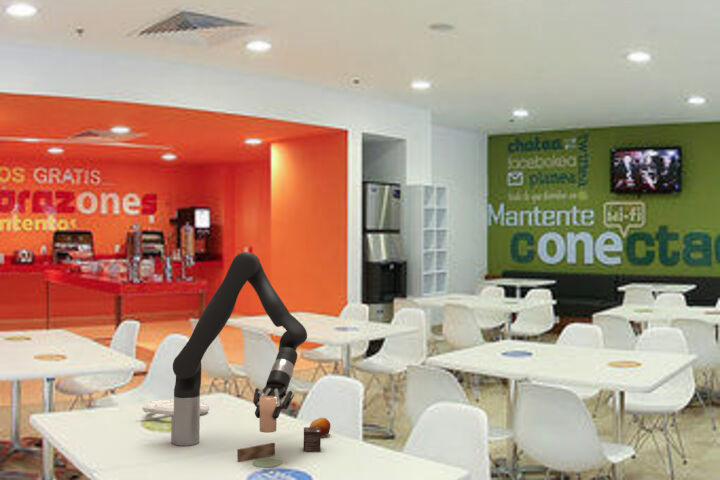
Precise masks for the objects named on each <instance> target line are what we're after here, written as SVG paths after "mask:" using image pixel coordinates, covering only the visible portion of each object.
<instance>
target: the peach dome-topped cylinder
mask: <svg viewBox="0 0 720 480" xmlns="http://www.w3.org/2000/svg"><path fill="white" fill-rule="evenodd" d="M275 407H277V405H276V397H275V396H263V395H262V396H260V418H259V432H260V433H267V434H268V433H274V432H276V431H277V419H276V420H274V419H273V417H272V416H273V413H274V410H275Z"/></svg>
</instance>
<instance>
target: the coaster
mask: <svg viewBox="0 0 720 480" xmlns="http://www.w3.org/2000/svg"><path fill="white" fill-rule="evenodd" d="M251 463H252V464H251V465H253V467H257V468H263V469H264V468H267V469H268V468H276V467H279V466H282V465H283V460H282V459H280V458H277V457H271V456H267V457H261V458H256V459H253V460H252V462H251Z"/></svg>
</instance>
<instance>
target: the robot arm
mask: <svg viewBox="0 0 720 480" xmlns="http://www.w3.org/2000/svg"><path fill="white" fill-rule="evenodd" d="M225 274H226V275H225V276H224V278H223V280H222V282H221V284H220V285H219V287H218V288H217V290H215V292H214V294H213V295H212V297H211V299H210V300H209V302H208V303H207V305H206V307H205V308H204V310H203V312H202V313H201V315H200V317H199V319H198V321H197V322H196V325H195V327H194V329H193V331H192V334H191V335H190V338H189V339H188V340H187V342H186V344H185V345H184V346H183V348H182V349H181V350H180V352H179V353H178V354H177V355H176V357H174V359H173V363H172V370H173V373H174V375H175V384H174V389H173V398H174V415H172V416H171V418H170V419H171V421H170V422H171V424H170V425H171V427H170V428H171V429H170V437H171V438H170V441H171V442H170V443H171V444H173V445H175V446H180V447H181V446H182V447H184V446H186V447H187V446H194V445H197V444H199V443H200V428H201V427H200V426H201V425H200V424H201V422H200V421H201V419H200V417H201V416H200V415H201V413H200V403H201V402H200V401H201V397H200V396H201V385H202V360H203V358H204V356H205V354H206V352H207V350H208V349H209V347H210V345H212V343H213V342H214V341H215V340H216V338H218V336H219V334H220V333H221V332H222V330H223V329H224V327H225V326H226V324H227V323H228V321H229V319H230V318H231V316H232V315H233V312H234V309H235V306H236V303H237V301H238V296H239V295H240V293H241V290H242V289H243V287H244V286H245V284H246V283H249V284H250V285H251V286H252V288H253V290H254V291H255V293H256V295H257V296H258V299H259V301H260V303H261V305H262V307H263V309H264V311H265V313H266V314H267V316H268V318H269V319H270V321H271V322H272V324H273V325H274V327H276V328H280V327H282V328H283V329H285V330H286V331H285V332H284V333H282V335H281V336H280V340H279V345H278V352H277V356H276V358H275V360H274V363H273V364H272V366H271V369H270V371H269V374H268V377H267V380H266V384H265V386H264V387H263V389H262V388H261V389H259V388H258V387H256V388H255V389H254V395H253V401H252V402H253V405H254V406H255V407H256V408H255V411H254V415H255V417H256V418H257V419H260V397H262V396H275V397H276V407H275V410H274V413H273V416H272V417H273V419H274V420H276V421H277V419H278V418H279V417H280V413H281V411H282V410H287V409H288V408H289V406H290V404H291V403H292V401H293V398H294V397H295V396H294V393H293V391H292V390H289V391H288V388H289V386H290V383H291V379H292V377H293V373H294V369H295V366H296V363H297V361H298V360H297V359H298V353H297V348H298V347H300V346H301V345H302V344H304V343H305V342H306V341H307V339H308V333H307V329H306V328H305V326H304V325H303V324H302V323H301V322H300V321H299V320H298V319H297V318H296V317H294V315H292V313H290V311H289V309H288V308H287V306H286V305H285V303H284V302H283V300H282V299H281V297H280V296H279V295H278V293H277V292H276V289H274V287H273V286H272V284H271V282H270V280H269V279H268V277H267V275H266V273H265V271H264V267H263V266H262V263H261V261H260V259H259V257H258V256H257V254H254V253H251V252H248V251H243V252H240V253H238V254H237V255H235V257H234V258H233V259H232V261H231V264H230V266H229V268H228V269H227V272H226V273H225ZM262 394H263V395H262ZM284 397H285V398H284ZM283 398H284V400H283V401H282V399H283Z"/></svg>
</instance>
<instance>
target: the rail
mask: <svg viewBox="0 0 720 480" xmlns="http://www.w3.org/2000/svg"><path fill="white" fill-rule="evenodd" d="M236 450H237V451H236V452H237V459H236V460H237V462H238V463H240V462H244V461H250V460H255V459H259V458H267V457H271V456H275V455H276V443H275V442H269V443H264V444H259V445H257V444H256V445H254V446H253V445H252V446H248V447H247V446H246V447H242V448H237V449H236Z"/></svg>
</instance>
